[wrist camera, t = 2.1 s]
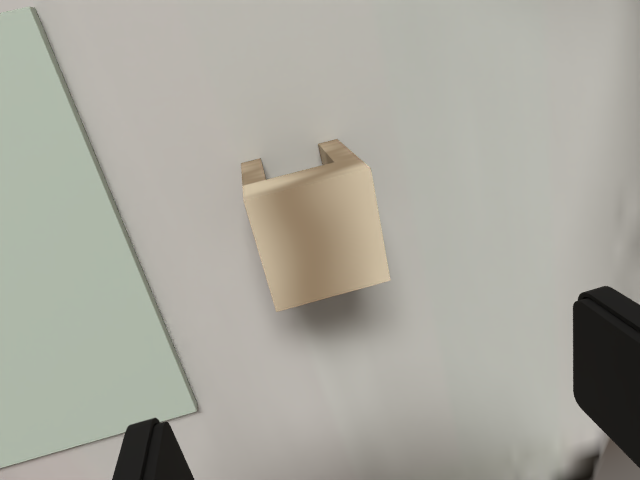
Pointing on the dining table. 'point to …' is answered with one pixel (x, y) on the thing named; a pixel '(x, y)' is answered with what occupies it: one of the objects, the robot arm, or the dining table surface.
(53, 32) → the dining table surface
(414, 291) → the dining table surface
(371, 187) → the stool
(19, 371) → the mat
